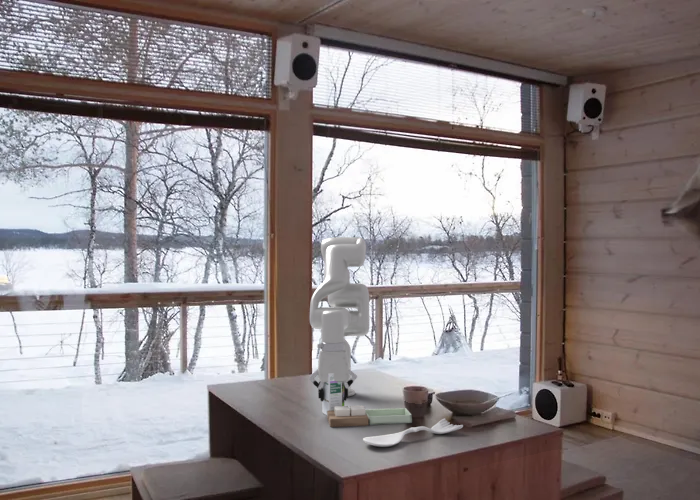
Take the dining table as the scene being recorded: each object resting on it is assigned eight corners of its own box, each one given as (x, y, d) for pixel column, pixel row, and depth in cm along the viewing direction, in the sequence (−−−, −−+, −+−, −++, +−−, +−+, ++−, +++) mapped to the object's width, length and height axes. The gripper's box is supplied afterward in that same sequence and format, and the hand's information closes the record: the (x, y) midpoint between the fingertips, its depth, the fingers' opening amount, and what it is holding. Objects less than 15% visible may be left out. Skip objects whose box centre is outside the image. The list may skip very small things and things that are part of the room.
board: (327, 418, 207) (327, 410, 207) (363, 416, 208) (363, 409, 208) (330, 427, 197) (330, 419, 197) (368, 425, 198) (368, 417, 198)
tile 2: (349, 412, 205) (349, 405, 205) (363, 411, 205) (363, 405, 205) (351, 415, 200) (351, 409, 200) (365, 415, 201) (365, 408, 201)
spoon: (464, 435, 188) (464, 423, 188) (374, 453, 172) (374, 441, 172) (444, 427, 196) (444, 416, 196) (357, 445, 180) (357, 432, 180)
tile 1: (334, 412, 204) (334, 406, 204) (348, 412, 205) (348, 405, 205) (335, 416, 200) (335, 410, 200) (349, 415, 200) (349, 409, 200)
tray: (365, 417, 208) (365, 409, 208) (405, 415, 210) (405, 407, 209) (369, 424, 199) (369, 416, 199) (412, 423, 201) (411, 415, 201)
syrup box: (329, 417, 208) (329, 373, 208) (321, 413, 213) (321, 370, 213) (344, 415, 210) (344, 371, 210) (337, 411, 216) (336, 368, 216)
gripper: (307, 349, 207) (308, 403, 207) (360, 348, 209) (360, 401, 209) (306, 346, 214) (306, 398, 214) (356, 344, 217) (357, 396, 217)
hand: (333, 399), depth 212 cm, fingers closed on syrup box, 7 cm apart
